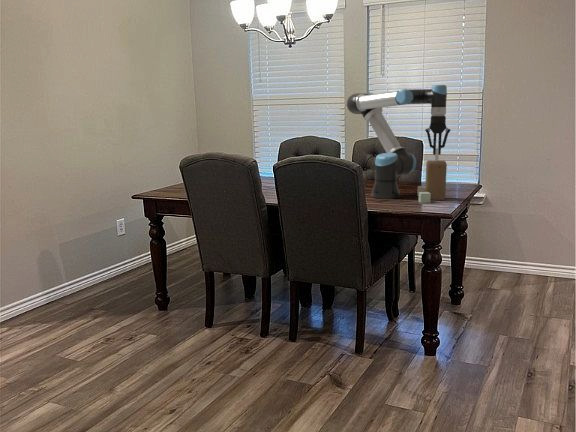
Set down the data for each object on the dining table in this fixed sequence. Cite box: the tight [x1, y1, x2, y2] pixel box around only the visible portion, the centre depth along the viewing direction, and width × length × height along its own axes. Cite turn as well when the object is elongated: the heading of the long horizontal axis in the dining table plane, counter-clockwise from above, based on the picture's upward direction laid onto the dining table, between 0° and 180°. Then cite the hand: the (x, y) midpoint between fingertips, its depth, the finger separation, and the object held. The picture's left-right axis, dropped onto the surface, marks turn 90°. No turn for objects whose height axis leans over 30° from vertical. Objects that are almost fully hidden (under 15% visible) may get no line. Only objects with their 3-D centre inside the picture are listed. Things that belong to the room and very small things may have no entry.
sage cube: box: [418, 192, 431, 204], centre depth 294 cm, size 5×5×5 cm
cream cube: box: [416, 185, 425, 197], centre depth 313 cm, size 5×5×5 cm
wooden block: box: [424, 160, 448, 201], centre depth 301 cm, size 10×10×20 cm
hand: (436, 161), depth 299 cm, fingers closed
